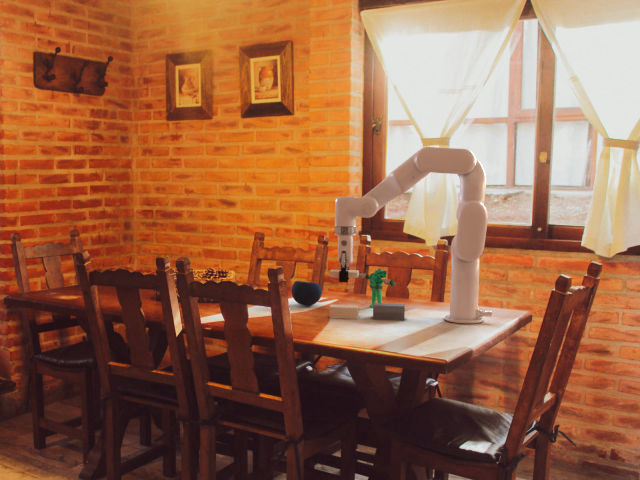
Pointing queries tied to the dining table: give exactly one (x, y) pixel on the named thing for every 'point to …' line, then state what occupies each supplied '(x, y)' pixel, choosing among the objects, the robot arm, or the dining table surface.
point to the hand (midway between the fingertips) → (344, 280)
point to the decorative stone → (306, 292)
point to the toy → (377, 284)
